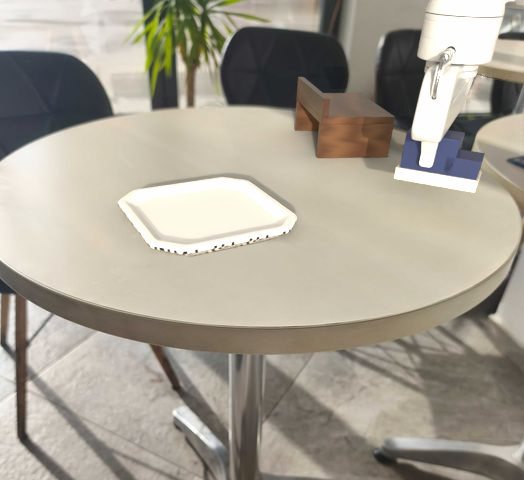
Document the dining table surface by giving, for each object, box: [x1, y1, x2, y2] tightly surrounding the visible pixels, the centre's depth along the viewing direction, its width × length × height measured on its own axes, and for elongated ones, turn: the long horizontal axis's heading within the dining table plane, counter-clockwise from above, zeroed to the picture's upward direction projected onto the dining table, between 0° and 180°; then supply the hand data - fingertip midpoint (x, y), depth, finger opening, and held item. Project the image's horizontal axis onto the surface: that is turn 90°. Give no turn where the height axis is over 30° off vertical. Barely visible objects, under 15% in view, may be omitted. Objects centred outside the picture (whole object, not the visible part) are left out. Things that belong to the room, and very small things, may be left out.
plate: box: [117, 176, 298, 257], centre depth 68 cm, size 21×21×2 cm
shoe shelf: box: [293, 76, 396, 159], centre depth 99 cm, size 14×20×10 cm
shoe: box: [393, 126, 486, 194], centre depth 68 cm, size 11×5×6 cm, turn 65°
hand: (429, 159), depth 68 cm, fingers closed on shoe, 4 cm apart
